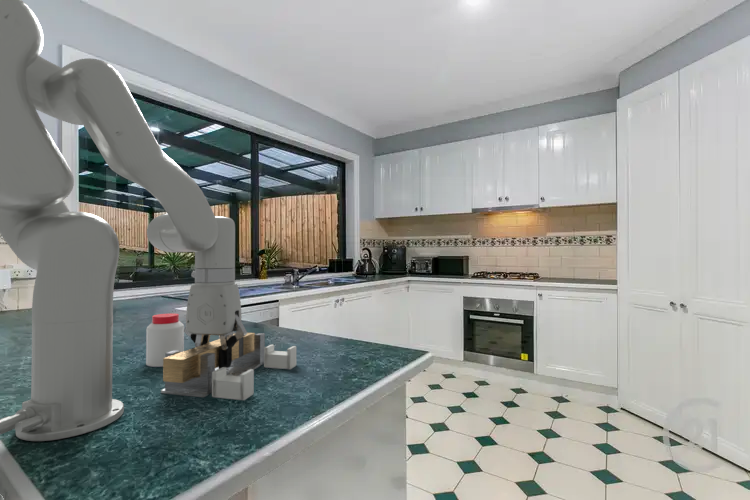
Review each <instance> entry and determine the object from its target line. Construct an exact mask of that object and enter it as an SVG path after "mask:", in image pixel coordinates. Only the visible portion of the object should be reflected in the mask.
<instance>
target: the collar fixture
mask: <svg viewBox="0 0 750 500" xmlns="http://www.w3.org/2000/svg"><path fill="white" fill-rule="evenodd" d="M235 333H236V331H233V334H235ZM265 335H266V333H265V332H263V333H261V332H260V333H255V335H254V351H252V352H250V353H247V354H245V355H243V356H242V357H239V358H236V359H234V360H232V362H231V366H230V367H228V368H226V375H231V376H240V374H242V373H244V372H246V371H248V370H249V369H252V370H254V371H255V369H256V370H257V369H258V368H260V367H261V366H264V348H265V347H266V346H265V345H266V341H265V340H266V338H265V337H266V336H265ZM218 339H220V336H219V335H218ZM177 353H180V351H174V350H173V351H170V352H167V353H165V358H166V357H169V356H171V355H174V354H177ZM218 369H219V367H217V368H215V353H206V354H204V355H201V356H200V375H199V376H197V377H195V378H193V379H190V380H188V381H186V382H184V383H177V382H166V381H164V388H162V389H160V394H166V395H177V396H187V397H198V398H205V397H207V396H209V395H212V372H213V371H216V370H218Z"/></svg>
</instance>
